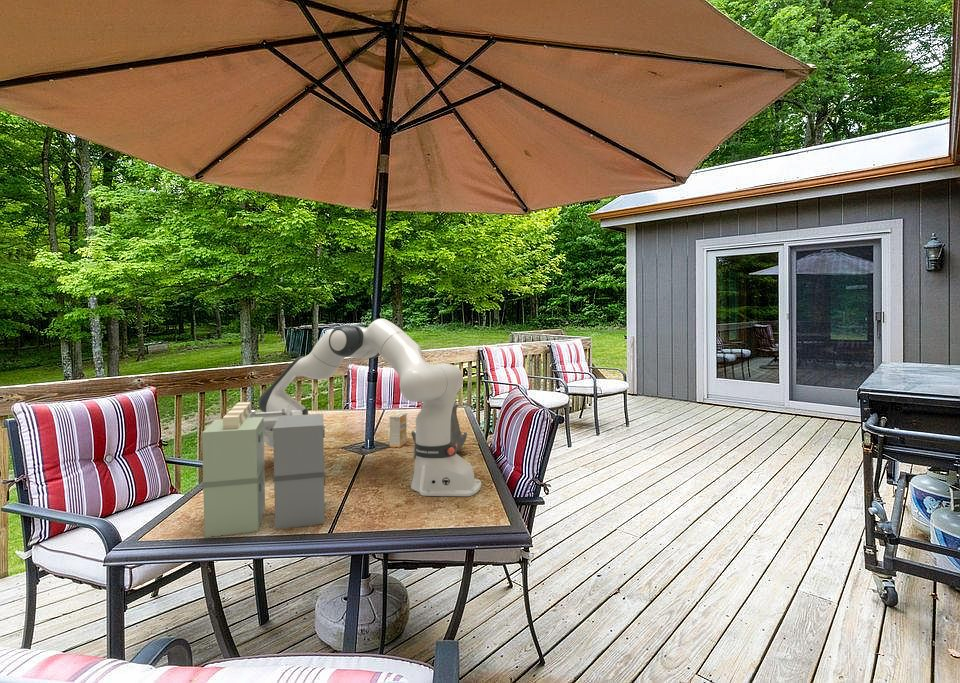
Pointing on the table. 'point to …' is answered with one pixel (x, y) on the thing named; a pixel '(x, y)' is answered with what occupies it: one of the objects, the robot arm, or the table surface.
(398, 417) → the supplement box
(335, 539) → the table surface
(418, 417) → the robot arm
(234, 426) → the wooden bar
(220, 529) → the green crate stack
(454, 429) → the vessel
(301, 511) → the grey crate stack
